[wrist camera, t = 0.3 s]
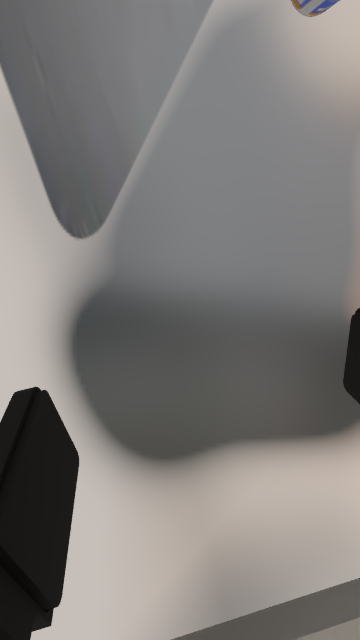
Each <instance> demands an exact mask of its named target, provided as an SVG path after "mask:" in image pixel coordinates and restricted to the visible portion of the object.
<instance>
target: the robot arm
mask: <svg viewBox="0 0 360 640" xmlns="http://www.w3.org/2000/svg"><path fill="white" fill-rule="evenodd" d="M343 383H344V387H345V389H346V391H347V392H348V393H349V394H350V395H351V396H352V397H353V398H354V399H355V400H356V401H357V402H358V403H359V404H360V308H359V309H357V311H356V312H355V314H354V315H353V316H352V318H351V325H350V332H349V340H348V348H347V356H346V363H345V371H344V379H343ZM78 468H79V456H78V452H77V450H76V448H75V446H74V444H73V442H72V440H71V438H70V436H69V434H68V432H67V430H66V428H65V426H64V424H63V422H62V420H61V418H60V416H59V414H58V412H57V410H56V408H55V405H54V403H53V401H52V400H51V397H50V396H49V393H48V392H47V391H46V390H43V391H41V390H40V389H39V388H38V387H33V388H29V389H25V390H21V391H17V392H15V393H14V394H13V396H12V398H11V400H10V402H9V405H8V407H7V409H6V411H5V413H4V416H3V418H2V420H1V422H0V640H30V637H31V632H32V631H36V630H39V629H42V628H45V627H49V626H51V622H52V616H53V609H54V608H55V607H58V605H59V604H60V601H61V598H62V591H63V584H64V576H65V568H66V560H67V553H68V545H69V538H70V530H71V522H72V515H73V506H74V499H75V491H76V483H77V476H78ZM172 640H360V578H358V579H355V580H352V581H349V582H346V583H343V584H340V585H336V586H333V587H330V588H327V589H324V590H321V591H318V592H315V593H312V594H309V595H306V596H302V597H299V598H296V599H293V600H290V601H287V602H284V603H281V604H278V605H275V606H272V607H269V608H266V609H263V610H259V611H256V612H253V613H250V614H248V615H245V616H241V617H238V618H235V619H232V620H230V621H226V622H223V623H220V624H217V625H214V626H211V627H208V628H205V629H202V630H199V631H196V632H193V633H190V634H187V635H184V636H181V637H178V638H175V639H172Z"/></svg>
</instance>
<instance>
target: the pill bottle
mask: <svg viewBox="0 0 360 640" xmlns="http://www.w3.org/2000/svg"><path fill="white" fill-rule="evenodd" d="M291 1H292V3H293V5H294V7H295V8H296V10H297V11H298V12H300V13H301V14H303V15H305V16H309V17H312V16H316V15H319V14H321V13H323V12H324V11H326V10H327V9H329V8H330V7H331V6H332V5H334V4H335V3H337V2H338V1H339V0H291Z"/></svg>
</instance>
